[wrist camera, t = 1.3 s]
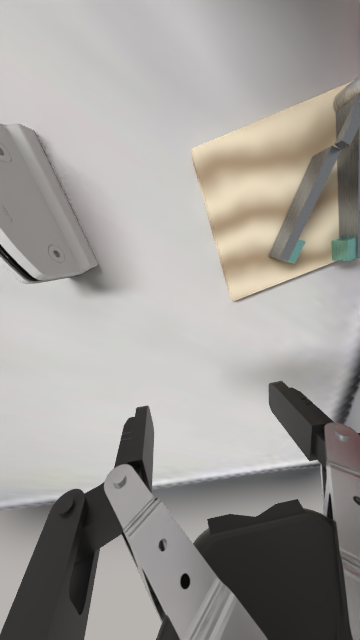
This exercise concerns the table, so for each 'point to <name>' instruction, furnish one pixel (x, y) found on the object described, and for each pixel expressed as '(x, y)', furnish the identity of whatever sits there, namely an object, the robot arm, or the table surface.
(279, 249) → the tong arm
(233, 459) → the table surface
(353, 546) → the robot arm
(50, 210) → the grey curved block
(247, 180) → the board
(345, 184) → the tongs fixed
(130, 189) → the table surface
